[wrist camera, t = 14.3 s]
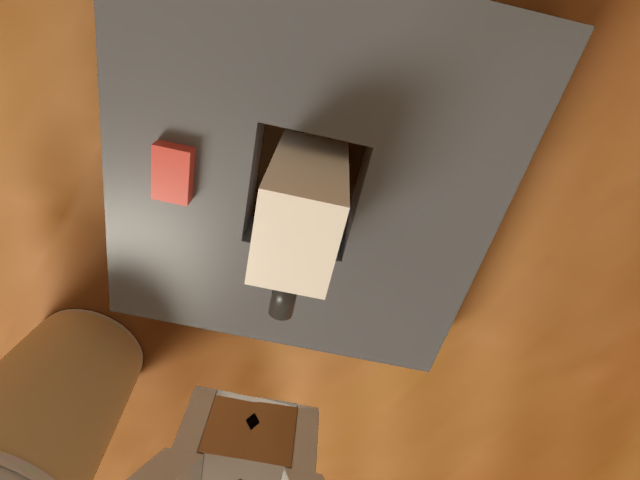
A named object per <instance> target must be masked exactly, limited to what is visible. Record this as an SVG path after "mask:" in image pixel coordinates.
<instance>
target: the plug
mask: <svg viewBox="0 0 640 480" xmlns="http://www.w3.org/2000/svg"><path fill="white" fill-rule="evenodd" d="M349 210H350V185H349V145H348V143H344V142H340V141H335V140H331V139H326V138H322V137H317V136H313V135H308V134H304V133H299V132H295V131H290V130H286V129H284V132H283V134H282V136H281V139H280V141H279V143H278V145H277V148H276V150H275V152H274V154H273V157H272V159H271V161H270V164H269V166H268V168H267V170H266V173H265V175H264V177H263V179H262V182H261V184H260V186H259V189H258V195H257V202H256V209H255V216H254V222H253V229H252V236H251V243H250V249H249V256H248V263H247V269H246V276H245V283H244V284H246V285H251V286H256V287H261V288H266V289H271V290H272V293H271V298H270V303H269V309H268V313H269V315H270V316H271V317H272V318H274V319H276V320H279V321H285V320H288V319H290V318H291V317H292V315H293V311H294V306H295V302H296V298H297V295H302V296H307V297H312V298H317V299H322V300H325V298H326V294H327V291H328V287H329V283H330V280H331V276H332V272H333V269H334V265H335V261H336V258H337V254H338V250H339V247H340V243H341V239H342V236H343V232H344V228H345V225H346V221H347V217H348V214H349Z"/></svg>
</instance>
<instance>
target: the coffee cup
mask: <svg viewBox="0 0 640 480" xmlns="http://www.w3.org/2000/svg"><path fill="white" fill-rule="evenodd" d="M142 364H143V353H142V349H141V347H140V345H139V343H138V341H137V340H136V338H135V337H134V336H133V334H132V333H131V332H130V331H129V330H128V329H127V328H125V327H124V326H123V325H122V324H120V323H119V322H117V321H116V320H114V319H112V318H110V317H108V316H106V315H103V314H101V313H98V312H94V311H90V310H85V309H67V310H62V311H59V312H56V313H54V314H52V315H50V316H49V317H47V318H46V319H45V320H44V321H43V322H42V323H40V324H39V325H38V326H37V327H36V328H35V329H33V330H32V331H31V332H30V333H29V334H28V335H27V336H26V337H25V338H24V339H23V340H21V341H20V342H19V343H18V344H17V345H16V346H15V347H14V348H13V349H12V350H11V351H10V352H9V353H7V354H6V355H5V356H4V357H3V358H2V359H1V360H0V480H93V478H94V476H95V474H96V472H97V469H98V467H99V465H100V463H101V460H102V458H103V456H104V454H105V451H106V449H107V447H108V445H109V442H110V440H111V438H112V436H113V433H114V431H115V429H116V427H117V424H118V422H119V420H120V418H121V415H122V413H123V411H124V408H125V406H126V404H127V402H128V399H129V397H130V395H131V392H132V390H133V388H134V386H135V383H136V381H137V378H138V376H139V373H140V371H141V368H142Z"/></svg>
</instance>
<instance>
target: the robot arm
mask: <svg viewBox="0 0 640 480" xmlns="http://www.w3.org/2000/svg"><path fill="white" fill-rule="evenodd" d="M318 423H319V410H318V408H317V407H311V406H305V405H299V404H298V405H297V403H291V402H285V401H278V400H272V399H266V398H260V397H258V398H255V397H250V396H245V395H241V394H236V393H231V392H226V391H221V390H216V389H211V388H206V387H200V386H196V388H195V389H194V391H193V393H192V396H191V398H190V401H189V404H188V406H187V409H186V412H185V414H184V417H183V420H182V422H181V425H180V427H179V430H178V433H177V435H176V438H175V441H174V443H173V446H172V449H171V448H164V449H163V450H162V451H160V452H159V453H158V454H157V455H156V456H154V457H153V458H152V459H151V460H150V461H148V462H147V463H146V464H145V465H143V466H142V467H141V468H140V469H139V470H137V471H136V472H135V473H134V474H133V475H131V476H130V477H129V478H128V479H126V480H325V479H324V477H323V475H322V474H319V473H316V460H317V442H318Z"/></svg>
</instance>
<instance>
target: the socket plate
mask: <svg viewBox="0 0 640 480" xmlns="http://www.w3.org/2000/svg"><path fill="white" fill-rule="evenodd" d="M94 8H95V28H96V48H97V68H98V87H99V107H100V127H101V147H102V167H103V186H104V206H105V226H106V246H107V265H108V285H109V305H110V311H112V312H117V313H123V314H128V315H133V316H138V317H144V318H149V319H154V320H159V321H165V322H170V323H175V324H180V325H185V326H191V327H196V328H201V329H206V330H212V331H217V332H222V333H227V334H232V335H238V336H243V337H248V338H253V339H259V340H264V341H269V342H274V343H280V344H285V345H290V346H295V347H300V348H306V349H311V350H316V351H321V352H327V353H332V354H337V355H342V356H348V357H353V358H358V359H363V360H368V361H374V362H379V363H384V364H389V365H395V366H400V367H405V368H410V369H416V370H421V371H426V372H429V371H430V369H431V367H432V365H433V363H434V361H435V359H436V357H437V354H438V352H439V350H440V348H441V346H442V344H443V342H444V340H445V338H446V336H447V334H448V332H449V329H450V327H451V325H452V323H453V321H454V319H455V317H456V315H457V313H458V311H459V309H460V307H461V304H462V302H463V300H464V298H465V296H466V294H467V292H468V290H469V288H470V286H471V284H472V282H473V279H474V277H475V275H476V273H477V271H478V269H479V267H480V265H481V263H482V261H483V259H484V257H485V255H486V252H487V250H488V248H489V246H490V244H491V242H492V240H493V238H494V236H495V234H496V232H497V230H498V227H499V225H500V223H501V221H502V219H503V217H504V215H505V213H506V211H507V209H508V207H509V205H510V202H511V200H512V198H513V196H514V194H515V192H516V190H517V188H518V186H519V184H520V182H521V180H522V177H523V175H524V173H525V171H526V169H527V167H528V165H529V163H530V161H531V159H532V157H533V155H534V153H535V150H536V148H537V146H538V144H539V142H540V140H541V138H542V136H543V134H544V132H545V130H546V128H547V125H548V123H549V121H550V119H551V117H552V115H553V113H554V111H555V109H556V107H557V105H558V103H559V100H560V98H561V96H562V94H563V92H564V90H565V88H566V86H567V84H568V82H569V80H570V78H571V75H572V73H573V71H574V69H575V67H576V65H577V63H578V61H579V59H580V57H581V55H582V53H583V51H584V48H585V46H586V44H587V42H588V40H589V38H590V36H591V34H592V32H593V30H594V28H595V26H592V25H588V24H584V23H580V22H576V21H572V20H567V19H563V18H559V17H555V16H551V15H547V14H543V13H539V12H535V11H531V10H527V9H523V8H519V7H515V6H511V5H507V4H503V3H499V2H495V1H491V0H94ZM265 124H268V125H273V126H277V127H282V128H287V129H291V130H296V131H300V132H305V133H309V134H314V135H318V136H323V137H327V138H332V139H336V140H341V141H345V142H350V143H354V144H359V145H363V146H366V148H365V152H364V155H363V159H362V163H361V166H360V170H359V174H358V178H357V181H356V185H355V189H354V192H353V196H352V200H351V203H350V210H349V214H348V217H347V221H346V225H345V228H344V232H343V236H342V239H341V243H340V247H339V250H338V254H337V258H336V261H335V265H334V269H333V272H332V276H331V280H330V283H329V287H328V291H327V294H326V298H325V300H322V299H317V298H312V297H307V296H302V295H297V298H296V302H295V306H294V311H293V315H292V317H291V318H290V319H288V320H285V321H279V320H276V319H274V318H272V317H271V316H270V315H269V313H268V309H269V303H270V298H271V293H272V290H271V289H266V288H261V287H256V286H251V285H246V284H244V283H245V276H246V269H247V263H248V256H249V249H250V243H251V236H252V229H253V222H254V216H252V212H253V205H254V198H255V191H256V185H257V178H258V171H259V164H260V157H261V150H262V143H263V136H264V129H265Z"/></svg>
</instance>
